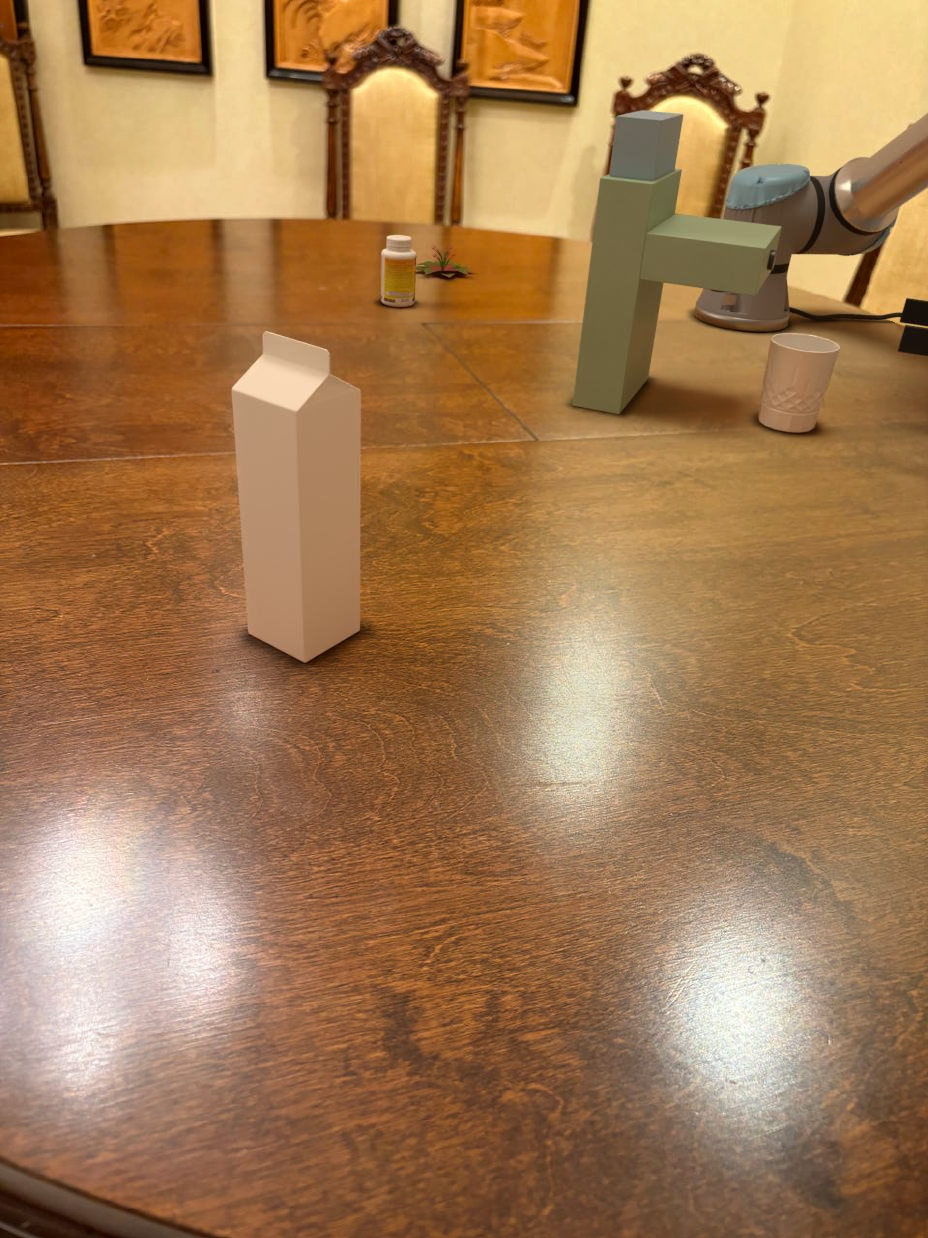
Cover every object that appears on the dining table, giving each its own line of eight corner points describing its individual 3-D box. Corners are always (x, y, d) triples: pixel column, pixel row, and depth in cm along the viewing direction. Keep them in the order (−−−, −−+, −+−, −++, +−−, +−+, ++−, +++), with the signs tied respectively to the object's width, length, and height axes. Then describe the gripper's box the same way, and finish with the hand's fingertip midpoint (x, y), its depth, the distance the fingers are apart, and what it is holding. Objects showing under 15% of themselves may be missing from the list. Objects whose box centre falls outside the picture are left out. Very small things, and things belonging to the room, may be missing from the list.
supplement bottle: (420, 306, 156) (422, 240, 151) (388, 308, 154) (389, 241, 149) (406, 298, 161) (408, 233, 155) (375, 300, 158) (376, 234, 153)
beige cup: (822, 438, 115) (844, 355, 110) (754, 430, 116) (773, 347, 111) (815, 416, 122) (835, 337, 117) (751, 408, 123) (768, 329, 118)
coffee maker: (749, 396, 127) (809, 124, 110) (731, 435, 114) (795, 134, 98) (605, 371, 133) (641, 108, 116) (572, 405, 120) (607, 116, 103)
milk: (304, 604, 76) (295, 321, 65) (361, 631, 74) (363, 340, 62) (246, 634, 72) (226, 337, 61) (304, 665, 69) (295, 359, 58)
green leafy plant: (486, 273, 180) (488, 247, 178) (451, 283, 171) (453, 256, 169) (433, 262, 185) (434, 237, 183) (396, 272, 176) (397, 245, 174)
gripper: (1108, 294, 111) (912, 268, 117) (1150, 349, 91) (912, 314, 97) (1082, 359, 115) (894, 330, 121) (1117, 425, 95) (890, 387, 101)
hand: (901, 323), depth 109 cm, fingers open, 13 cm apart
